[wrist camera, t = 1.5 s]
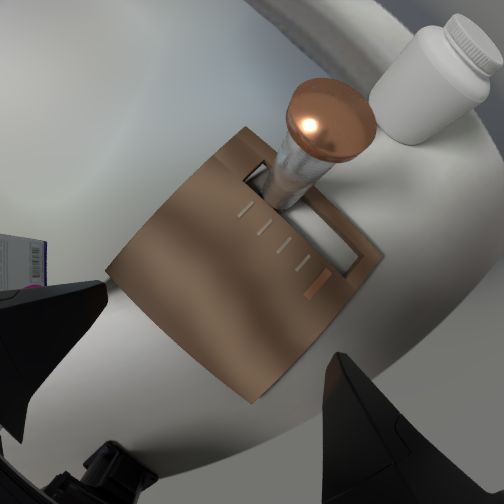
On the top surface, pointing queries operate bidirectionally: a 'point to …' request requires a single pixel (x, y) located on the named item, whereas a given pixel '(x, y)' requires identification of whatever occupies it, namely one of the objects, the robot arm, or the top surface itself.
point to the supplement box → (22, 263)
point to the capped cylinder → (317, 138)
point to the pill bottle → (435, 80)
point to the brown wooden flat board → (238, 271)
